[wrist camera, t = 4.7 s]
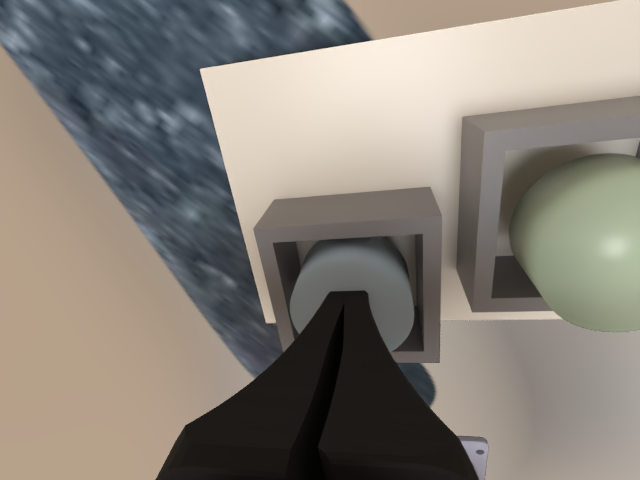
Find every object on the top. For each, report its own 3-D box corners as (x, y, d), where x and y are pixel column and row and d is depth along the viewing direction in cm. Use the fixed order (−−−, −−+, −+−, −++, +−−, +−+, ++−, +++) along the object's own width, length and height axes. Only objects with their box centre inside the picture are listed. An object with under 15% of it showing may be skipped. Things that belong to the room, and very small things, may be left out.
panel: (824, 285, 15) (1000, 374, 11) (275, 299, 20) (248, 366, 16) (1032, -65, 10) (1532, -158, 6) (221, 67, 15) (156, 71, 10)
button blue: (410, 318, 15) (415, 360, 13) (310, 320, 16) (300, 359, 14) (407, 226, 13) (413, 258, 11) (293, 233, 14) (279, 264, 12)
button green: (648, 280, 11) (710, 331, 9) (502, 285, 12) (529, 332, 10) (693, 144, 9) (784, 169, 7) (516, 161, 10) (552, 187, 8)
